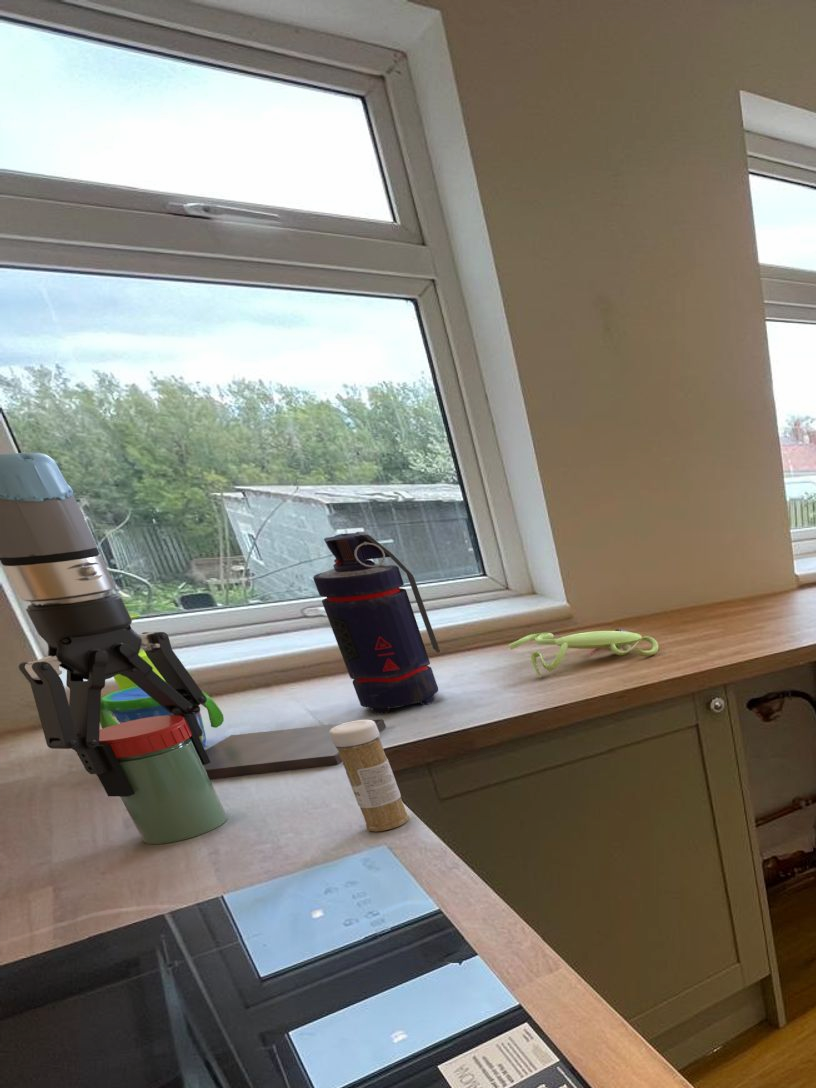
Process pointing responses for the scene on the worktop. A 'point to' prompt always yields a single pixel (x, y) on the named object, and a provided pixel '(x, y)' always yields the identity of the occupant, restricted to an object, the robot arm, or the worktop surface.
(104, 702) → the snack cup
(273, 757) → the board
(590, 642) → the figurine
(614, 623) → the worktop surface
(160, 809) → the jar
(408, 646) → the grenade
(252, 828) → the worktop surface
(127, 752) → the lid
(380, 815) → the sprinkles bottle
